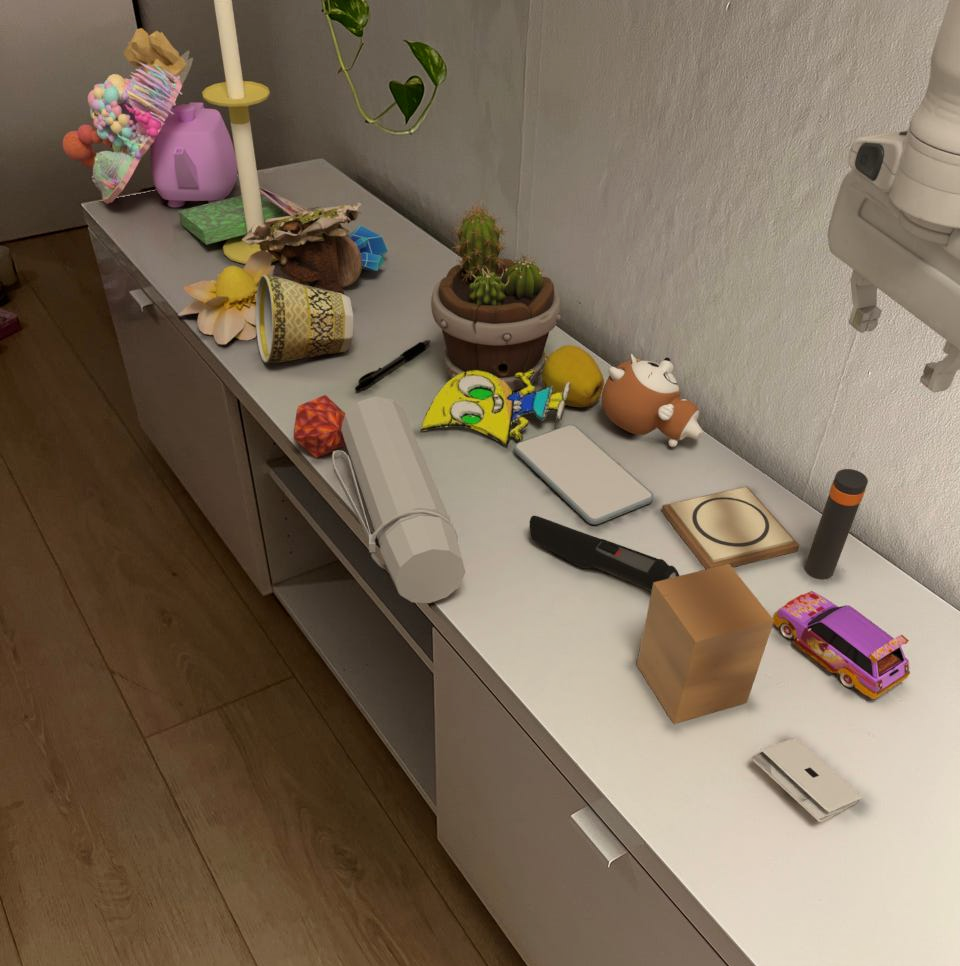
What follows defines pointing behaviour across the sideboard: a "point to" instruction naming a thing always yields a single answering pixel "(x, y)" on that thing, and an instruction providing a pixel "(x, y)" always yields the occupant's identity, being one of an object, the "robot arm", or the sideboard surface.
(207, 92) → the candle
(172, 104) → the candy platter
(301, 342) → the ceramic cup
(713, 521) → the ringed wooden coaster
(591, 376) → the apple
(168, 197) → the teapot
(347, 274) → the gemstone
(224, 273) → the decorative flower
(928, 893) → the sideboard surface
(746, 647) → the brown block
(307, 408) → the decorative stone
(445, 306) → the flowerpot
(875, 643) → the toy car
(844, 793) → the laptop
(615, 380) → the figurine
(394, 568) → the water bottle
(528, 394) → the toy
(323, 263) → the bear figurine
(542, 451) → the smartphone
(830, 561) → the marker
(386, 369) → the pen
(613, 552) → the electric trimmer
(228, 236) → the green jade tablet
